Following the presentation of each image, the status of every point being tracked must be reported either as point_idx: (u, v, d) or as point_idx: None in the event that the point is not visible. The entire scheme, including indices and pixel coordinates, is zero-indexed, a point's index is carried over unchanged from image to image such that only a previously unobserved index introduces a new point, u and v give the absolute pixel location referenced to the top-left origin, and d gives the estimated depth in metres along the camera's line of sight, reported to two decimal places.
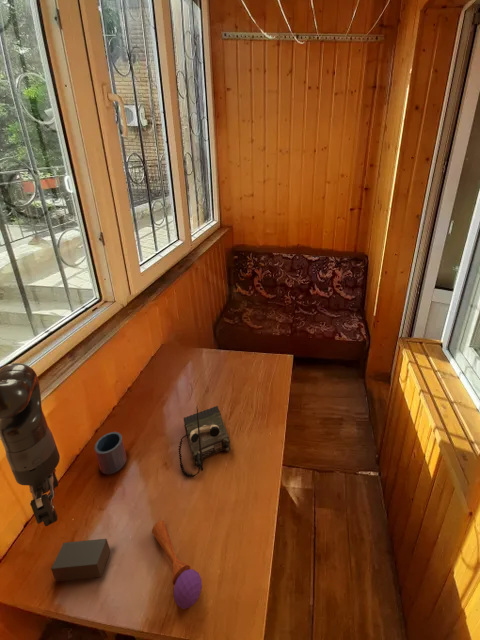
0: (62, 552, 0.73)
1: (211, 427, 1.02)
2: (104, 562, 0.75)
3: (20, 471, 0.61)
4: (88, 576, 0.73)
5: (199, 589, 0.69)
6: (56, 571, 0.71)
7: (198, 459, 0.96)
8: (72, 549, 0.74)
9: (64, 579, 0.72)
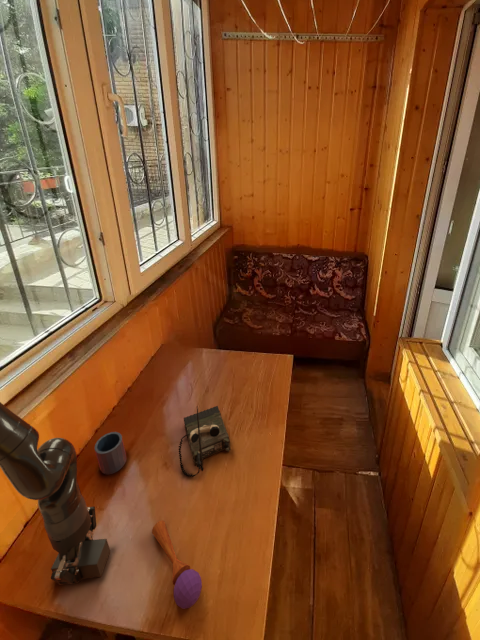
0: None
1: (211, 427, 1.02)
2: (104, 562, 0.75)
3: (49, 537, 0.66)
4: (88, 576, 0.73)
5: (199, 589, 0.69)
6: None
7: (198, 459, 0.96)
8: None
9: None
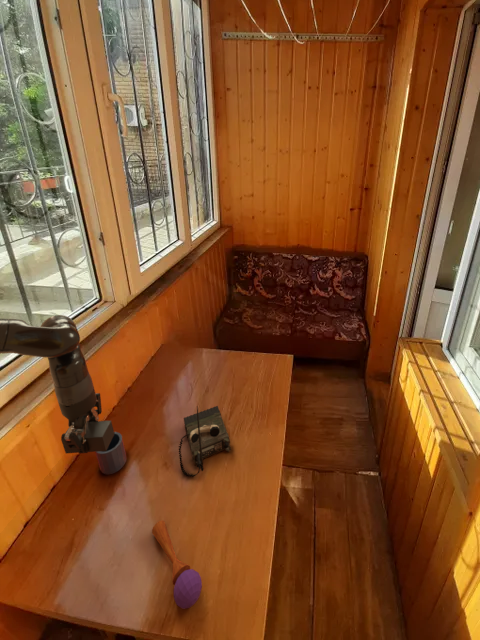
0: None
1: (211, 427, 1.02)
2: (109, 440, 0.82)
3: (60, 403, 0.73)
4: (94, 450, 0.80)
5: (199, 589, 0.69)
6: None
7: (198, 459, 0.96)
8: None
9: (73, 451, 0.80)
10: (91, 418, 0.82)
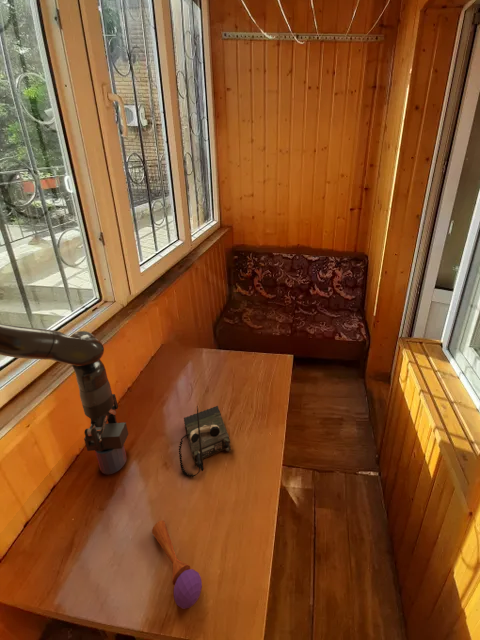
0: None
1: (211, 427, 1.02)
2: (124, 439, 0.96)
3: (84, 405, 0.86)
4: (112, 448, 0.94)
5: (199, 589, 0.69)
6: None
7: (198, 459, 0.96)
8: (99, 428, 0.95)
9: (93, 449, 0.93)
10: (109, 414, 0.96)
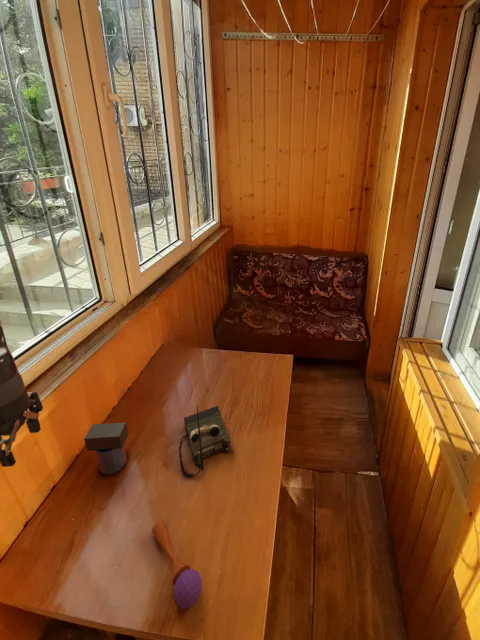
0: (91, 430, 0.94)
1: (211, 427, 1.02)
2: (124, 439, 0.96)
3: None
4: (112, 448, 0.94)
5: (199, 589, 0.69)
6: (88, 441, 0.92)
7: (198, 459, 0.96)
8: (99, 428, 0.95)
9: (93, 449, 0.93)
10: (28, 418, 0.74)
